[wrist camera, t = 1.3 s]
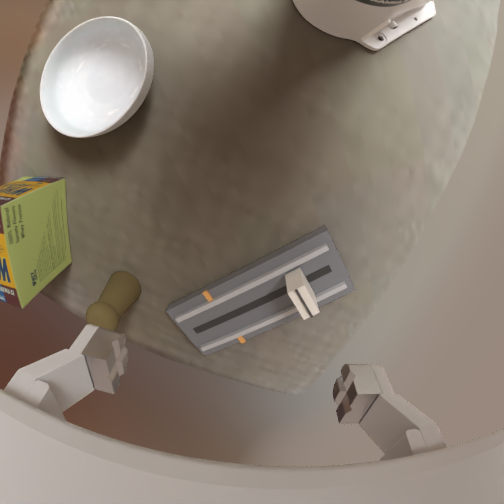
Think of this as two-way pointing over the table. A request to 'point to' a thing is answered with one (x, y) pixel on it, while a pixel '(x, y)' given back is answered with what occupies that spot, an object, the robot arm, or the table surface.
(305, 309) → the fader tab
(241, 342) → the pair of orange ticks
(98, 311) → the cork
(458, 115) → the table surface
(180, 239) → the table surface
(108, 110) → the cereal bowl
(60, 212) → the protein box
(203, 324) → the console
